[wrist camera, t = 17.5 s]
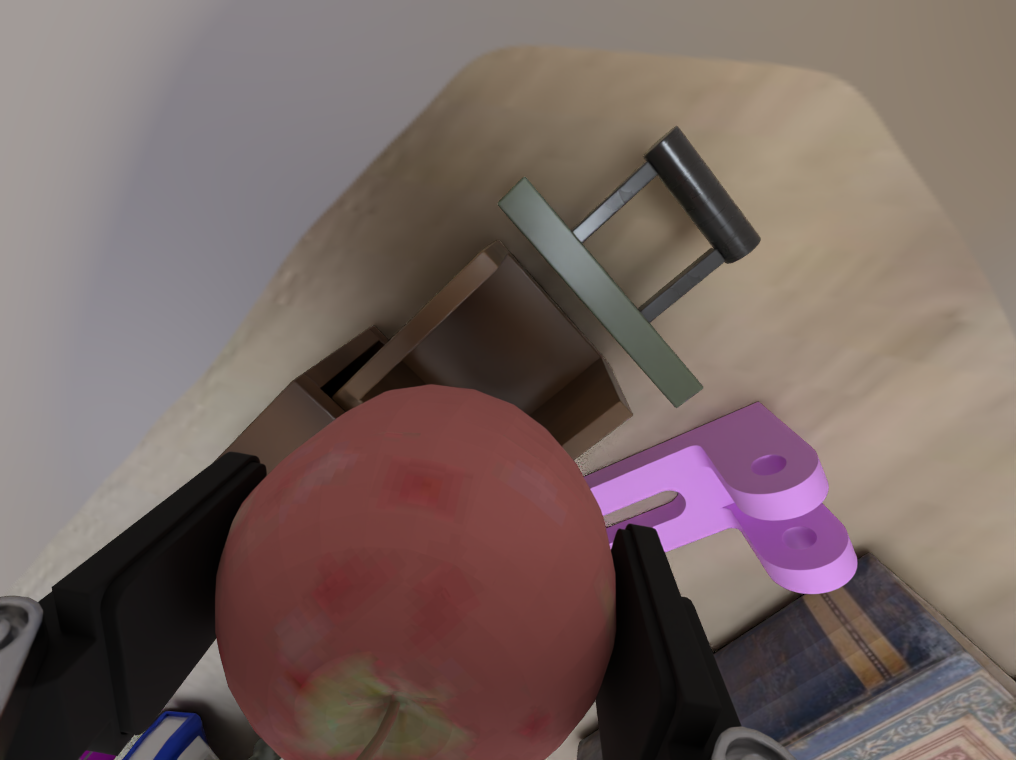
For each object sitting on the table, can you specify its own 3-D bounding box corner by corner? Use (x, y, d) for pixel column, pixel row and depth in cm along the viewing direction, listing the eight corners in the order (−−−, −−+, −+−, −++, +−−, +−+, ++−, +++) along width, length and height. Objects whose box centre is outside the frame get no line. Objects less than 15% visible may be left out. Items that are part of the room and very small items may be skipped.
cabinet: (373, 324, 24) (293, 379, 16) (512, 460, 27) (501, 569, 19) (244, 455, 28) (122, 555, 20) (377, 567, 30) (318, 699, 22)
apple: (419, 606, 15) (303, 991, 8) (282, 419, 13) (-55, 691, 6) (635, 521, 14) (753, 900, 6) (515, 295, 12) (472, 445, 4)
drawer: (616, 99, 20) (653, 45, 13) (745, 269, 22) (833, 293, 15) (374, 340, 24) (314, 387, 17) (501, 464, 26) (488, 547, 19)
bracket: (758, 401, 25) (838, 470, 18) (792, 484, 26) (878, 575, 20) (537, 497, 27) (536, 586, 21) (579, 567, 29) (591, 671, 22)
